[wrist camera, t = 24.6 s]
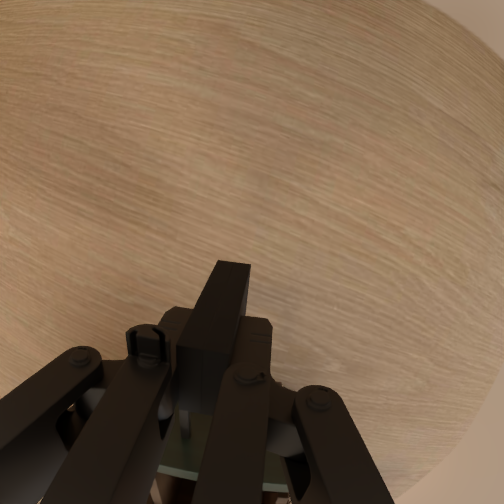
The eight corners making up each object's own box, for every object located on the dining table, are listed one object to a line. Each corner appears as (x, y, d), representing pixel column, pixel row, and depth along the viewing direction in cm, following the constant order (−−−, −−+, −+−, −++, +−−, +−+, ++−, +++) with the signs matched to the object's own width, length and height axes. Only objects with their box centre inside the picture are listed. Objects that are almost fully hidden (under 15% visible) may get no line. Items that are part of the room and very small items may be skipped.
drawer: (157, 317, 22) (109, 391, 14) (322, 340, 21) (335, 428, 14) (172, 466, 28) (153, 523, 21) (278, 482, 28) (274, 543, 20)
